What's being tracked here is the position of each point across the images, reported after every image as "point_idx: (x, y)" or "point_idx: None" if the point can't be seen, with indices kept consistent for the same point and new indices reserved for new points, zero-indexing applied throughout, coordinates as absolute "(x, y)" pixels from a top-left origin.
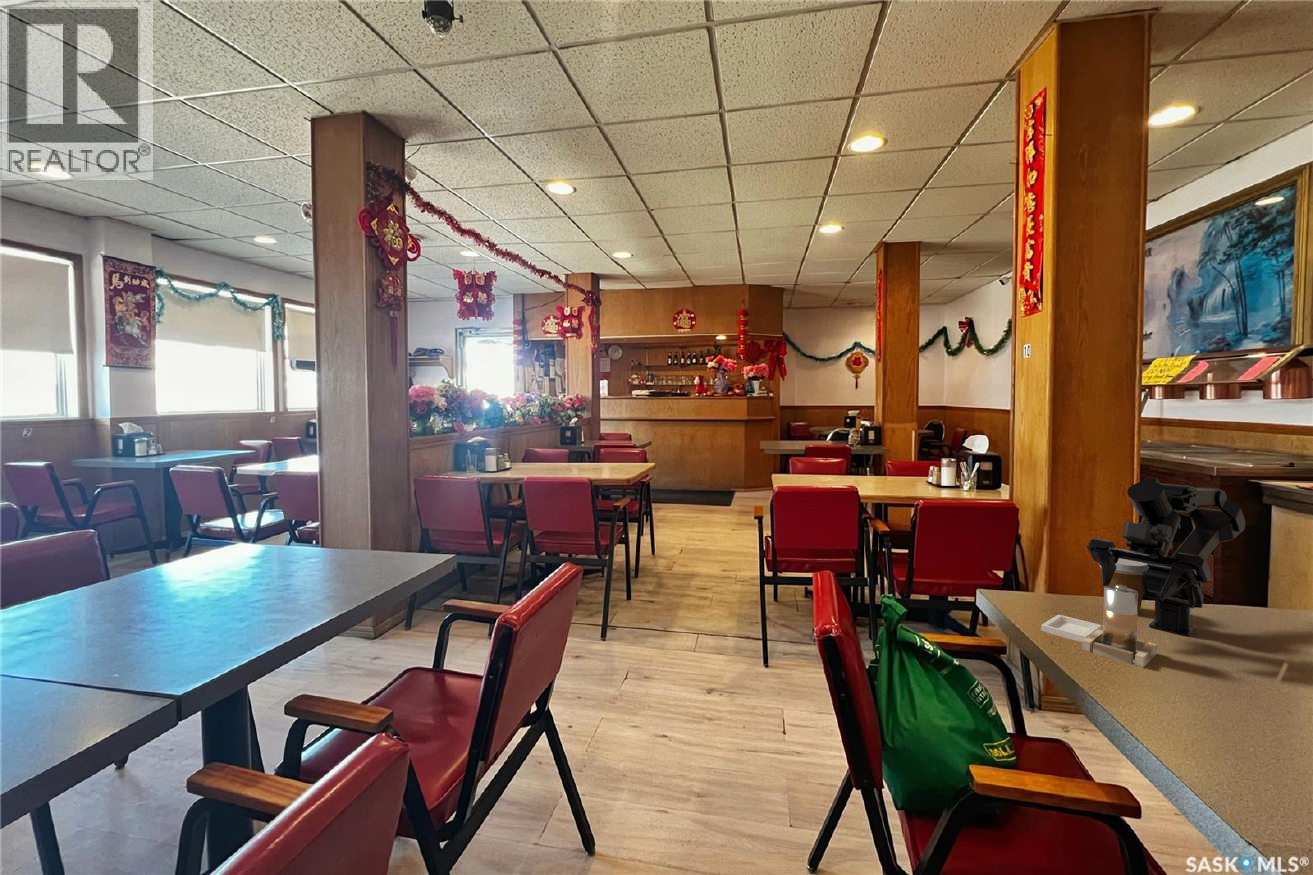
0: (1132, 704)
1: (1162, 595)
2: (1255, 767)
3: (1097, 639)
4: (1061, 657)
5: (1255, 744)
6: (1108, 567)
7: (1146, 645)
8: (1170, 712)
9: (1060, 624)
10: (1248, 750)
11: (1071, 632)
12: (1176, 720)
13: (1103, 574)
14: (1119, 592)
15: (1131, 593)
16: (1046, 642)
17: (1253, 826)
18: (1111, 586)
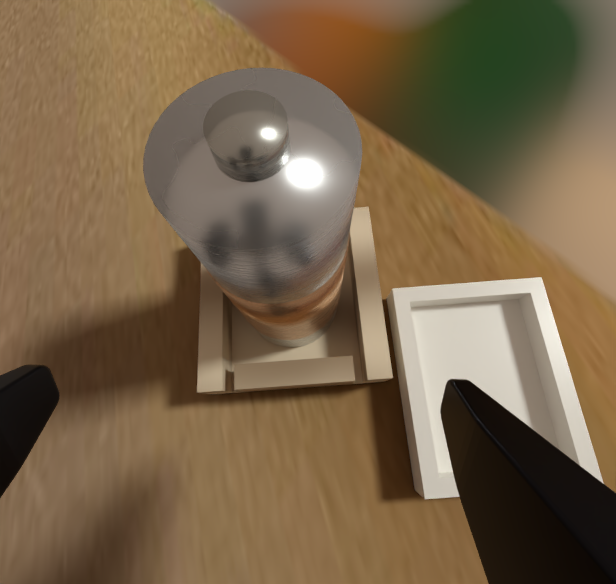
0: (189, 54)
1: (13, 372)
2: (20, 6)
3: (355, 288)
4: (379, 155)
5: (13, 70)
6: (613, 578)
7: (219, 340)
8: (132, 75)
9: (539, 418)
10: (24, 44)
11: (441, 291)
12: (120, 54)
13: (552, 456)
14: (239, 85)
15: (174, 121)
16: (462, 224)
17: None
18: (333, 190)
